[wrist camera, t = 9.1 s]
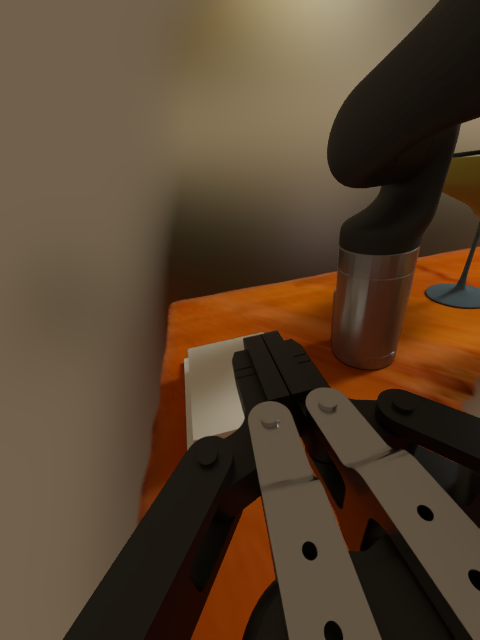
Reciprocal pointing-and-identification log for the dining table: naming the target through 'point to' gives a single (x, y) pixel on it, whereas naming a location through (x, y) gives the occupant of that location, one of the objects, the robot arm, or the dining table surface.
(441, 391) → the dining table surface
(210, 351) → the tile
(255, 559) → the dining table surface
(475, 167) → the cocktail glass
